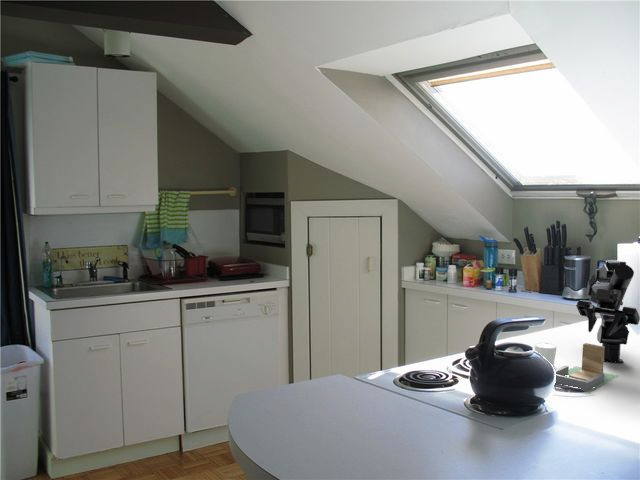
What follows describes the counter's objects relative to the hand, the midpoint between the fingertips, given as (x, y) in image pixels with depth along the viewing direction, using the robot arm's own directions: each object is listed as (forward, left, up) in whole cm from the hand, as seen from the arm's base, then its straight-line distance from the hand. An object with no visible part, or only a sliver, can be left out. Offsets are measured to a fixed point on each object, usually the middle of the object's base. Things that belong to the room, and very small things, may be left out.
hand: (598, 333), depth 219 cm
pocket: (+12, -10, -12) cm, 20 cm away
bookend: (+6, -5, -12) cm, 15 cm away
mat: (+9, -7, -13) cm, 17 cm away
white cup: (-5, -15, -13) cm, 20 cm away
